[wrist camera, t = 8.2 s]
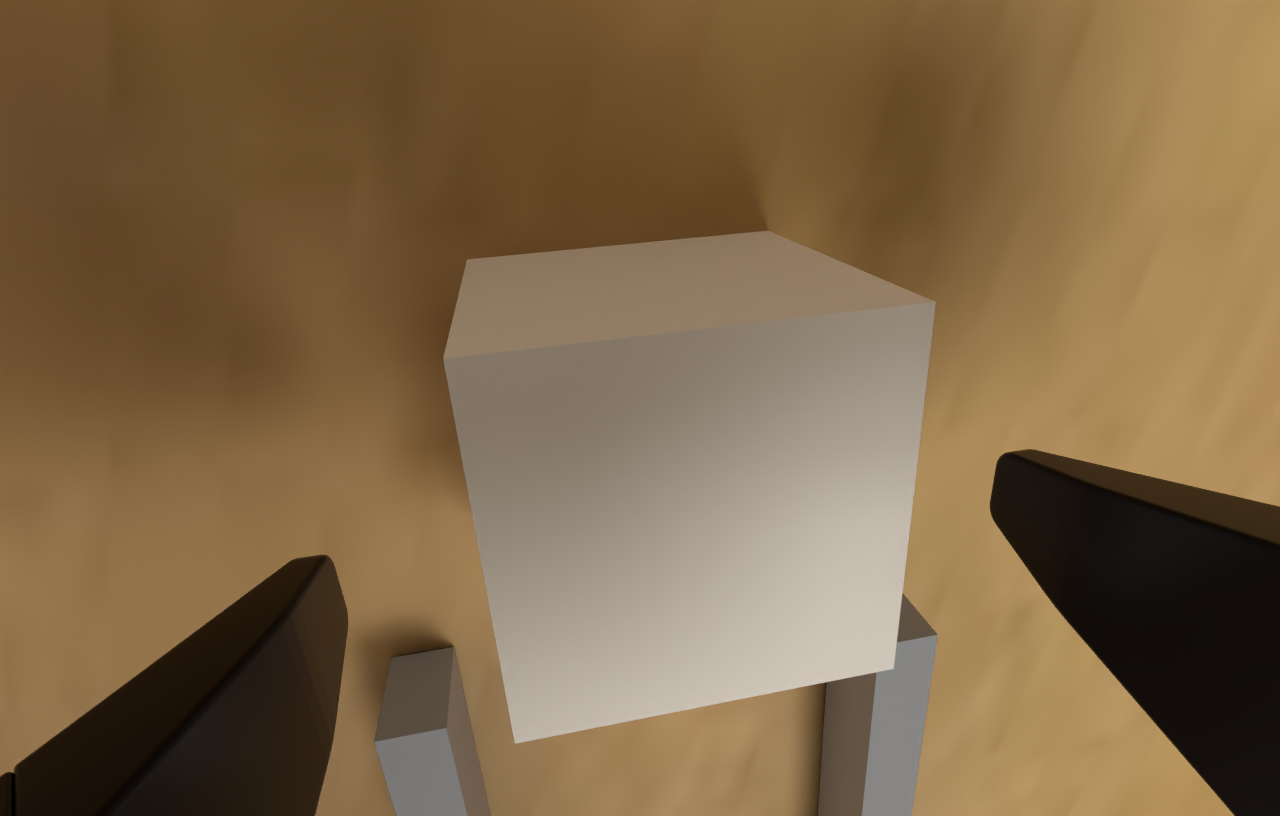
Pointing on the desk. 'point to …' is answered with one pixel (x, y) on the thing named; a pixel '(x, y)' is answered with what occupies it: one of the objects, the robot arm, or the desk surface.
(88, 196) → the desk surface
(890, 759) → the u-shaped bracket
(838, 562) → the cream block
